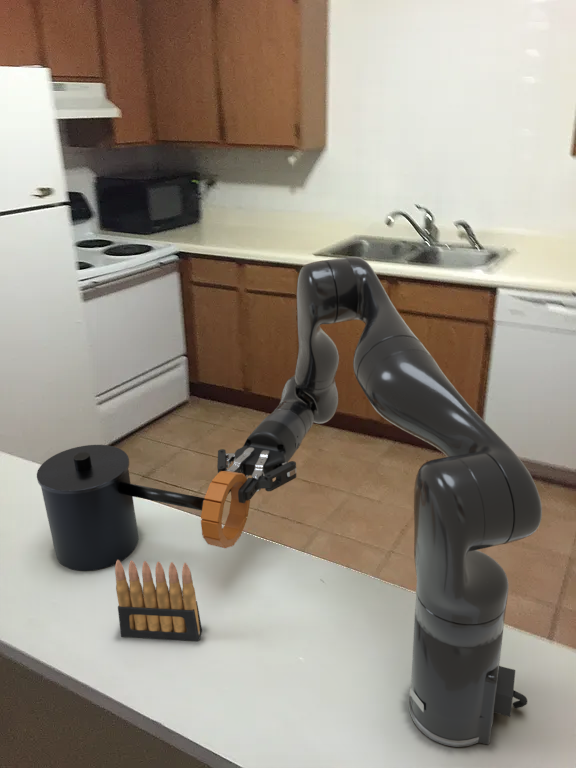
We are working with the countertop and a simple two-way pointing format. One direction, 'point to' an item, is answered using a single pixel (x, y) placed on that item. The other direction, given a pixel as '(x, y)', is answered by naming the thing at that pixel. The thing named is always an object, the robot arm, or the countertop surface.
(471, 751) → the countertop surface
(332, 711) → the countertop surface
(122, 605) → the ammunition clip
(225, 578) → the countertop surface
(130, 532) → the saucepan
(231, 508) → the bracelet
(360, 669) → the countertop surface
